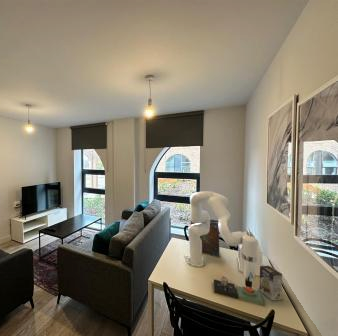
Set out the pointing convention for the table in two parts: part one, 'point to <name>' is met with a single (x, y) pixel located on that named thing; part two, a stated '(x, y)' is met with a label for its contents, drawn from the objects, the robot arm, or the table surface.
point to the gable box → (259, 256)
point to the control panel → (225, 289)
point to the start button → (249, 289)
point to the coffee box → (270, 282)
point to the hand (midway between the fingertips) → (248, 286)
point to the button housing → (249, 295)
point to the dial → (224, 282)
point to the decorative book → (211, 239)
